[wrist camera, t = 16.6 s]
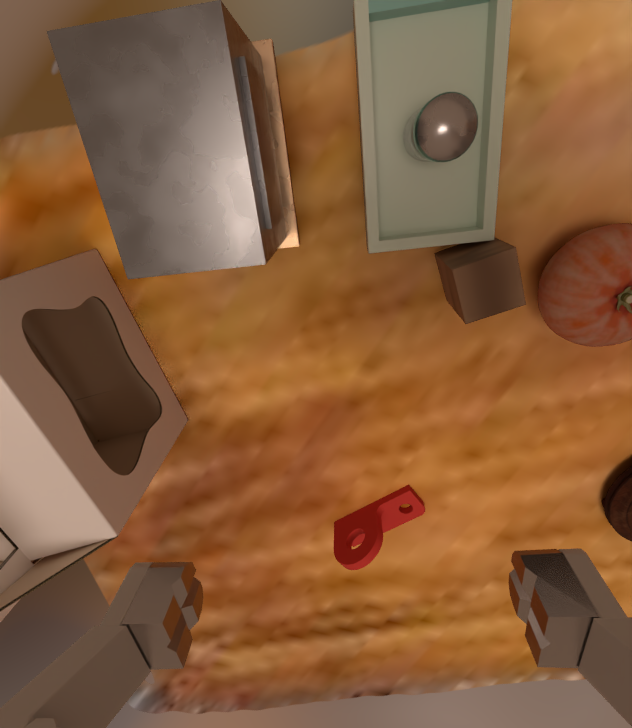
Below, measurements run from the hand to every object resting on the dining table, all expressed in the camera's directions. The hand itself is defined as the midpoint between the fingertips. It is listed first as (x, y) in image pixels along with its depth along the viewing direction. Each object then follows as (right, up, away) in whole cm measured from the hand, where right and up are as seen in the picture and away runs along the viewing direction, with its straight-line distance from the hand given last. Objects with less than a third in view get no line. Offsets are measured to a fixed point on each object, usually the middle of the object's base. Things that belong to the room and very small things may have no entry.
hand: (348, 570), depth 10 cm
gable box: (-26, +6, +36) cm, 45 cm away
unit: (-9, +24, +26) cm, 36 cm away
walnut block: (+14, +15, +29) cm, 35 cm away
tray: (+9, +25, +24) cm, 36 cm away
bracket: (+8, -15, +44) cm, 48 cm away
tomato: (+25, +14, +29) cm, 41 cm away
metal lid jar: (+9, +25, +23) cm, 35 cm away
